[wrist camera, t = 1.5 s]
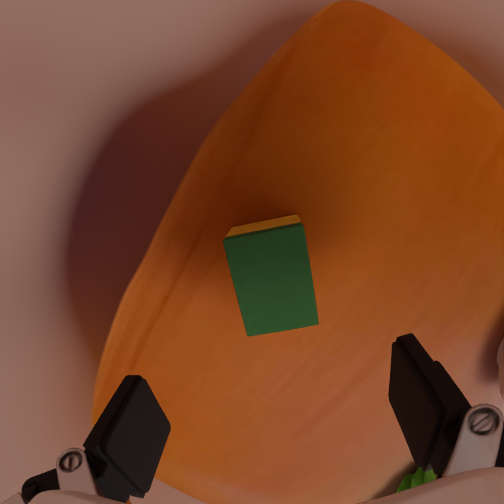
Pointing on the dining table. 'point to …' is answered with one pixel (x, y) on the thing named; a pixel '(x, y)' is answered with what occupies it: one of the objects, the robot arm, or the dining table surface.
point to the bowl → (501, 367)
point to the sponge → (272, 275)
